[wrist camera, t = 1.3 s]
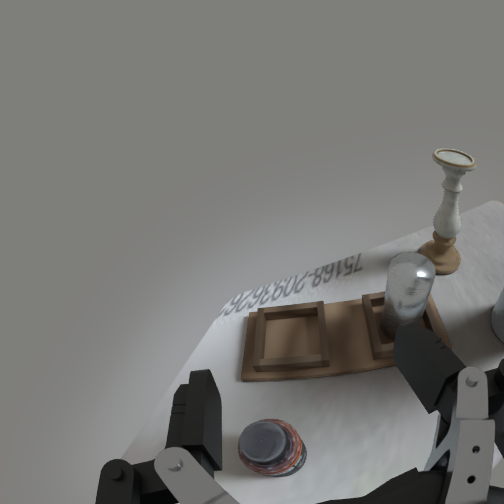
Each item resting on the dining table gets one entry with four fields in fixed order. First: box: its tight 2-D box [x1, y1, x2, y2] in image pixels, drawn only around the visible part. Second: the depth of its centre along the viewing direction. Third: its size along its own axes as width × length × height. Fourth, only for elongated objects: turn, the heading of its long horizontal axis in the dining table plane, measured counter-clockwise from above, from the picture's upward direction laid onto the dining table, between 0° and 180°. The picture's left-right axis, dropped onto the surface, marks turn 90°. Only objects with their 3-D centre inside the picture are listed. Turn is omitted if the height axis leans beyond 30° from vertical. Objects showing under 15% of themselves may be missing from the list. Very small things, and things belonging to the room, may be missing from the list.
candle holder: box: [420, 148, 476, 274], centre depth 36 cm, size 9×9×20 cm
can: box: [380, 252, 436, 341], centre depth 31 cm, size 6×6×11 cm
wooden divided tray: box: [241, 291, 452, 382], centre depth 35 cm, size 30×12×3 cm, turn 85°
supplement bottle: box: [238, 419, 307, 477], centre depth 22 cm, size 6×6×11 cm
